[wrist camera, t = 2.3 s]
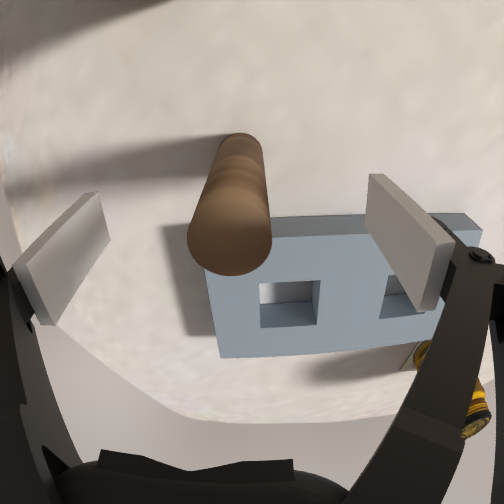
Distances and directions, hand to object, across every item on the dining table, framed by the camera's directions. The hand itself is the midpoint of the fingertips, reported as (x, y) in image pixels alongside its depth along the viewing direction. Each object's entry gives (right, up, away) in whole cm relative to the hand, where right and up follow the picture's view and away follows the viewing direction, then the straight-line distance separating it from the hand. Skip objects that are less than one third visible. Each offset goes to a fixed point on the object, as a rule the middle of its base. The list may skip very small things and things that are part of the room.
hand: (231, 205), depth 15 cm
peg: (0, +5, +7) cm, 8 cm away
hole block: (+9, -4, +12) cm, 16 cm away
